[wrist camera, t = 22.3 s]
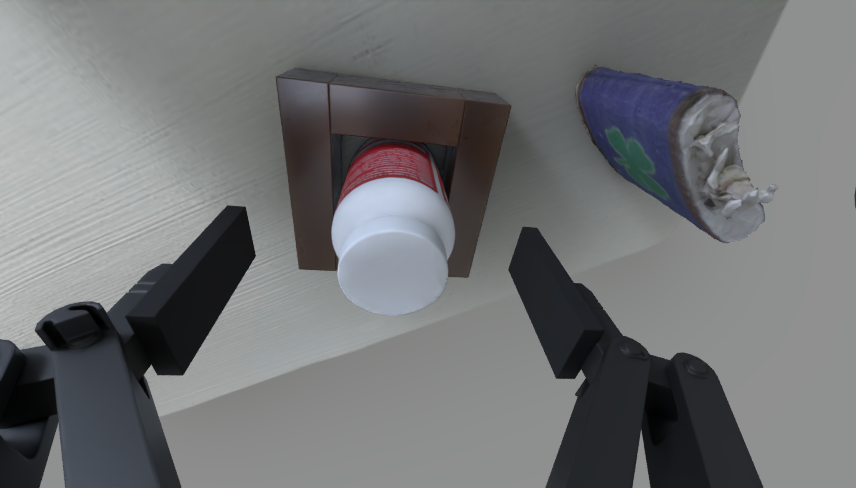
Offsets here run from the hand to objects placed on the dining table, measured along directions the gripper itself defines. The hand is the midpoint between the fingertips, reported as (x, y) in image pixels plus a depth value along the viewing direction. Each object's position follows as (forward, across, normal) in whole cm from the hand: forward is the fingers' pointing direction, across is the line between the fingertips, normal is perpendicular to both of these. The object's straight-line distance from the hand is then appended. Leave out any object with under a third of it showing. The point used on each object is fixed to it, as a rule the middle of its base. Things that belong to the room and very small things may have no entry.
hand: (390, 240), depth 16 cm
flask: (+8, +15, +5) cm, 18 cm away
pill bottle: (+8, 0, 0) cm, 8 cm away
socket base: (+8, 0, 0) cm, 8 cm away
